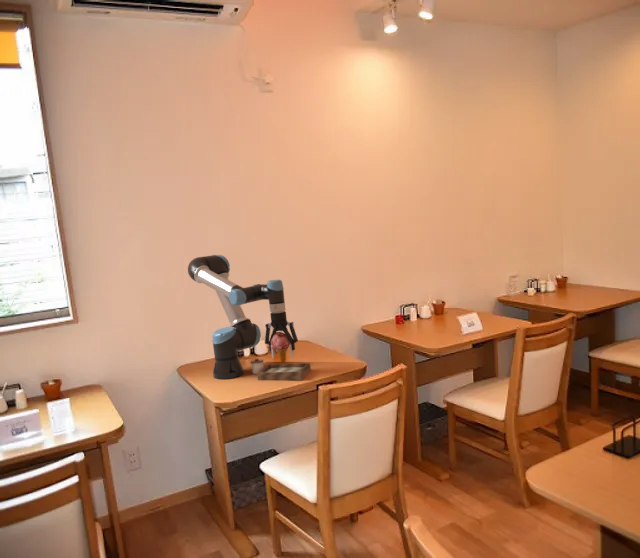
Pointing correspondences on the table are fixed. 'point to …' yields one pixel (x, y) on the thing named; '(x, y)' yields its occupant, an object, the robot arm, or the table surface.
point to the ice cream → (280, 344)
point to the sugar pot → (257, 366)
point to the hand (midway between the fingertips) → (283, 357)
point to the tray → (284, 372)
